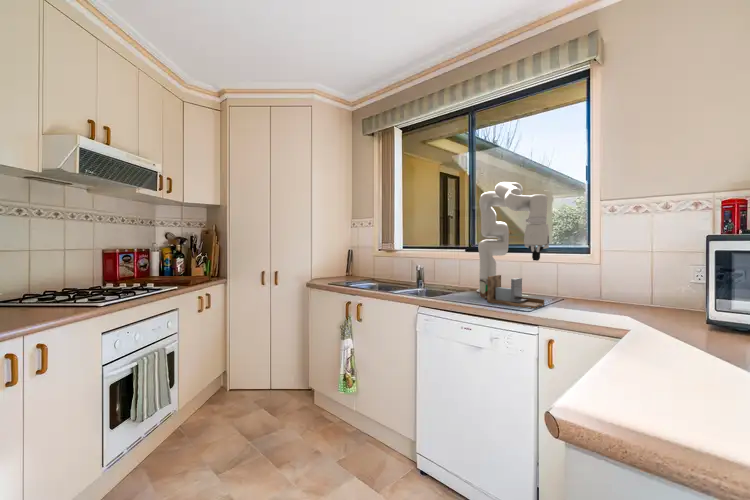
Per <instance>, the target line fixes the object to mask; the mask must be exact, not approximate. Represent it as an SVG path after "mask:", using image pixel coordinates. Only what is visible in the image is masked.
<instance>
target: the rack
mask: <svg viewBox="0 0 750 500" xmlns="http://www.w3.org/2000/svg"><path fill="white" fill-rule="evenodd" d="M497 287H502V274H496V275H495V276H488V294H487V299H486V301H487V303H488V304H489V303H491V304H498V305H505V306H512V307H518V306H520V307H519V308H525V307H531V308H530V309H532V308H535V309H537V308H536V307H538V308H540V307H539V306H542V305H544V306H545V299H544V298H535V297H528V296H522V299H528V301H526V302H522V303H516V302H510V301H503V300H496V288H497ZM542 307H543V306H542Z"/></svg>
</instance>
